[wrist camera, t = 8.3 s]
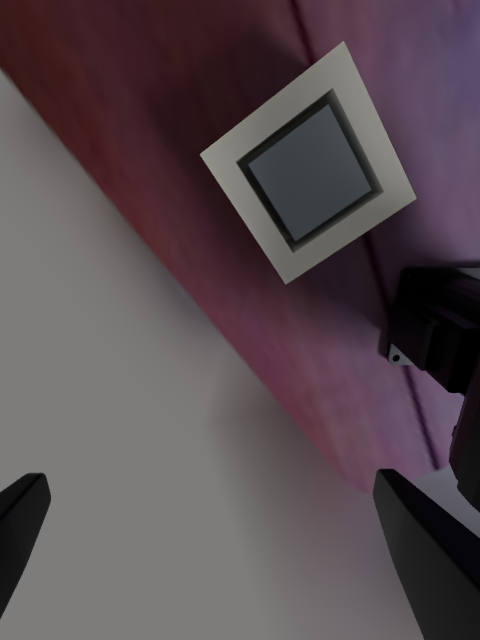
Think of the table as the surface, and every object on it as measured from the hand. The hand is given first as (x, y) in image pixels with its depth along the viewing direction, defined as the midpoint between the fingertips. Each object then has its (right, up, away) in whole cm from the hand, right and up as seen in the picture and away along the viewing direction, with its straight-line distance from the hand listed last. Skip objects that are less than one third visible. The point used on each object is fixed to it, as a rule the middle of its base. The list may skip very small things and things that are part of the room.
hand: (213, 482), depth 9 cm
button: (+4, +12, +8) cm, 15 cm away
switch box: (+4, +12, +9) cm, 16 cm away
